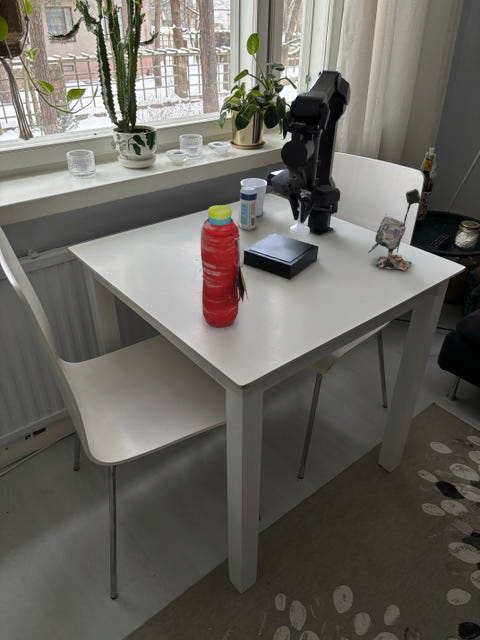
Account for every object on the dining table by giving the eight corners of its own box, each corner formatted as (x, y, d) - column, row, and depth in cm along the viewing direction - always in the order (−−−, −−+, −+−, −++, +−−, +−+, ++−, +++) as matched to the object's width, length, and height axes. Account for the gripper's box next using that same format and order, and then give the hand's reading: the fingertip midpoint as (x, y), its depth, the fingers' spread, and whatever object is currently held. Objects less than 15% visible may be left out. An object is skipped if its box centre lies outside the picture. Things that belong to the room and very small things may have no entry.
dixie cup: (234, 213, 156) (235, 182, 151) (251, 206, 161) (252, 176, 156) (255, 220, 152) (256, 188, 146) (271, 212, 157) (273, 182, 152)
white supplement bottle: (256, 224, 148) (257, 185, 142) (254, 230, 144) (256, 191, 138) (240, 223, 149) (241, 185, 142) (238, 230, 145) (239, 190, 138)
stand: (272, 246, 136) (273, 232, 133) (317, 260, 129) (318, 245, 127) (243, 264, 126) (243, 249, 124) (289, 280, 119) (291, 264, 117)
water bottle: (259, 325, 102) (265, 211, 89) (235, 342, 97) (237, 223, 84) (216, 305, 109) (215, 196, 95) (191, 320, 103) (187, 207, 90)
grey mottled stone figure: (376, 252, 133) (390, 180, 122) (415, 265, 127) (434, 190, 116) (362, 262, 128) (374, 187, 117) (402, 276, 122) (420, 198, 111)
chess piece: (297, 236, 118) (300, 196, 112) (285, 229, 121) (288, 190, 116) (313, 232, 120) (317, 193, 114) (302, 225, 123) (305, 187, 118)
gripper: (251, 153, 112) (249, 217, 120) (311, 172, 100) (304, 242, 109) (285, 145, 118) (281, 207, 126) (346, 163, 106) (337, 230, 115)
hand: (299, 221), depth 119 cm, fingers closed on chess piece
